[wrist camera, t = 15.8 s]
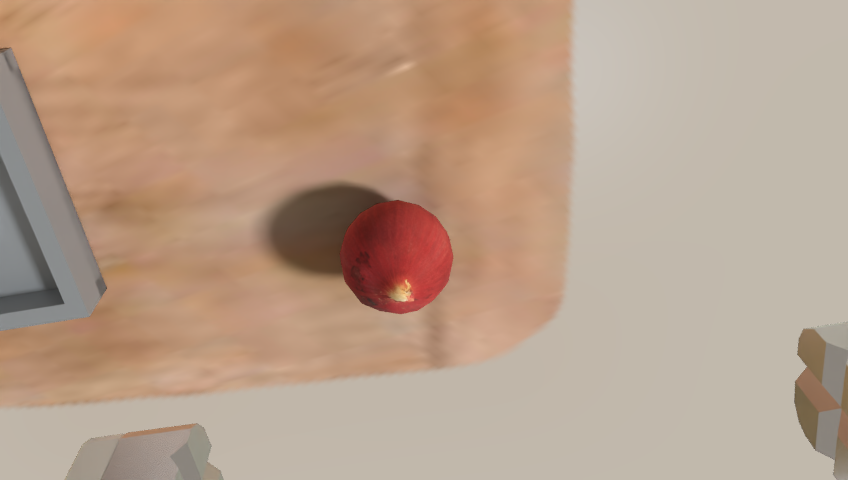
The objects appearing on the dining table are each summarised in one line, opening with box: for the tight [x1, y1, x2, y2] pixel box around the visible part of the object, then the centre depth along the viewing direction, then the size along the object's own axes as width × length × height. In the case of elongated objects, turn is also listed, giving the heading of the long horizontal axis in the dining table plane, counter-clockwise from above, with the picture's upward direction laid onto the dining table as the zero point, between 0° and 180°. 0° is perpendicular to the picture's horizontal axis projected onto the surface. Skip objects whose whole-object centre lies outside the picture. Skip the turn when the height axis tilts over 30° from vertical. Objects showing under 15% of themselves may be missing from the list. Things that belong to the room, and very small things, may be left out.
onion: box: [340, 200, 453, 314], centre depth 40 cm, size 6×6×8 cm
